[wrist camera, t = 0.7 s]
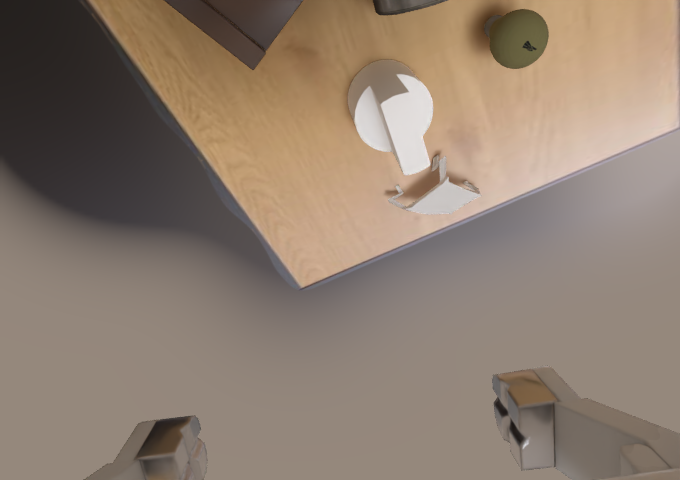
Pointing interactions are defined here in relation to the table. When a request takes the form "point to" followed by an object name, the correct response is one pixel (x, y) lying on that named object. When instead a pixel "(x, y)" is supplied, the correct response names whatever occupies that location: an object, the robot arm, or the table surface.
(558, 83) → the table surface
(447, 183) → the white flat-topped legged piece
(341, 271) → the table surface
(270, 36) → the brown wooden cabinet
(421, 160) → the base with upright slab
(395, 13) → the alarm clock
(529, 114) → the table surface
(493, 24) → the olive green rounded piece
